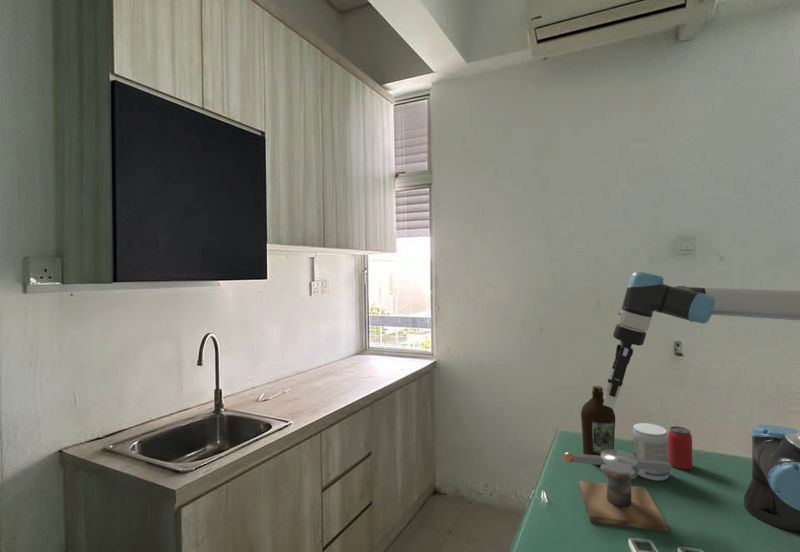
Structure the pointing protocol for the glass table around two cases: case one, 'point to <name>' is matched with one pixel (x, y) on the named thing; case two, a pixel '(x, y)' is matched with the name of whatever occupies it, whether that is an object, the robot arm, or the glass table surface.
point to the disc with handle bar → (618, 463)
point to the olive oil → (597, 424)
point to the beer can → (680, 447)
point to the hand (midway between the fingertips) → (609, 398)
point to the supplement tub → (651, 448)
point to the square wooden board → (621, 504)
